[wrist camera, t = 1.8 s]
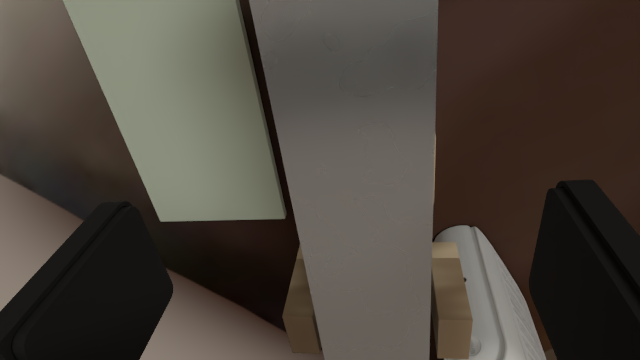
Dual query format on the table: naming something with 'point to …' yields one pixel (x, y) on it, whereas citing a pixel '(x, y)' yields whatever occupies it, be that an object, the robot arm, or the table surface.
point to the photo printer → (493, 301)
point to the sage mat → (185, 104)
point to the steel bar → (358, 162)
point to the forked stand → (445, 304)
